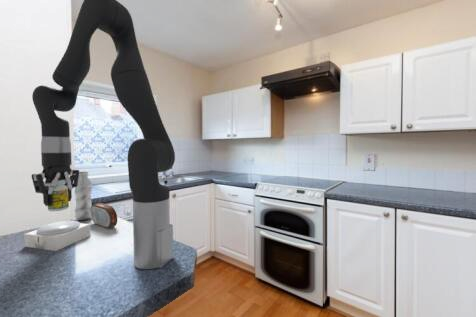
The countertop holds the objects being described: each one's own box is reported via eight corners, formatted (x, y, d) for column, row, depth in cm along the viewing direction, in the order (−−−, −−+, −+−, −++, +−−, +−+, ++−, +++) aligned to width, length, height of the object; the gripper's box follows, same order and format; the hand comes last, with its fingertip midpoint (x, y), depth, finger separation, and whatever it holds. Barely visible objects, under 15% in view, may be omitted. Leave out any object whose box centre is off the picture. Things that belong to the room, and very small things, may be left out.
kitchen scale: (90, 235, 80) (90, 221, 79) (54, 251, 67) (53, 235, 67) (62, 232, 82) (62, 219, 82) (23, 247, 70) (22, 231, 70)
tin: (118, 228, 87) (117, 206, 86) (110, 231, 84) (109, 208, 83) (97, 221, 95) (97, 201, 94) (89, 223, 92) (88, 202, 91)
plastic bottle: (70, 221, 94) (68, 172, 93) (84, 216, 101) (83, 171, 99) (83, 222, 92) (81, 173, 91) (97, 217, 99) (95, 171, 98)
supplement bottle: (69, 206, 78) (68, 178, 78) (68, 210, 74) (67, 180, 73) (48, 208, 75) (47, 179, 75) (46, 212, 71) (45, 181, 70)
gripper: (42, 152, 66) (44, 210, 67) (85, 151, 80) (87, 199, 81) (22, 151, 67) (24, 208, 68) (68, 150, 81) (69, 197, 82)
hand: (58, 203), depth 74 cm, fingers closed on supplement bottle, 5 cm apart
